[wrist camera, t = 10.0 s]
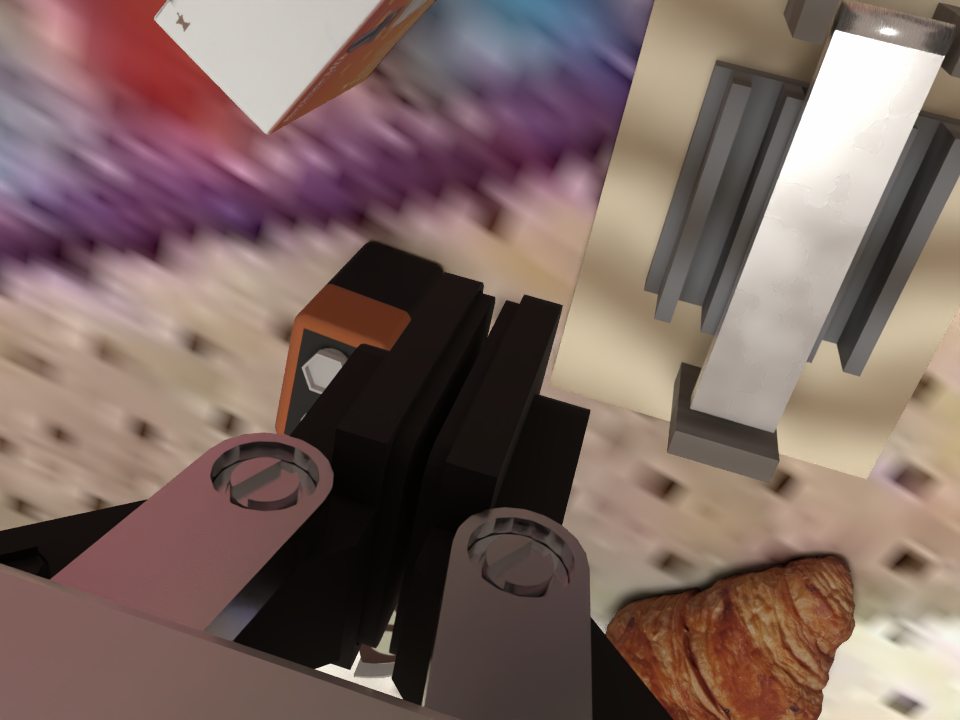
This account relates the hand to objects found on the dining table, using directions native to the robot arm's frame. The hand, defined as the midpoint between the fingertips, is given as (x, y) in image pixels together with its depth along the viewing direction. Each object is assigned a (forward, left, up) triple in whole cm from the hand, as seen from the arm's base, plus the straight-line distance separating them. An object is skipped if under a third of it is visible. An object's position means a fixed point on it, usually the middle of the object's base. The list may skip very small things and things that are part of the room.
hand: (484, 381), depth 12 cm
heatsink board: (+5, +8, -29) cm, 31 cm away
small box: (0, -12, -29) cm, 32 cm away
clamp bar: (+5, +8, -24) cm, 25 cm away
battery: (+16, -9, -29) cm, 35 cm away
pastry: (+33, +13, -30) cm, 46 cm away
